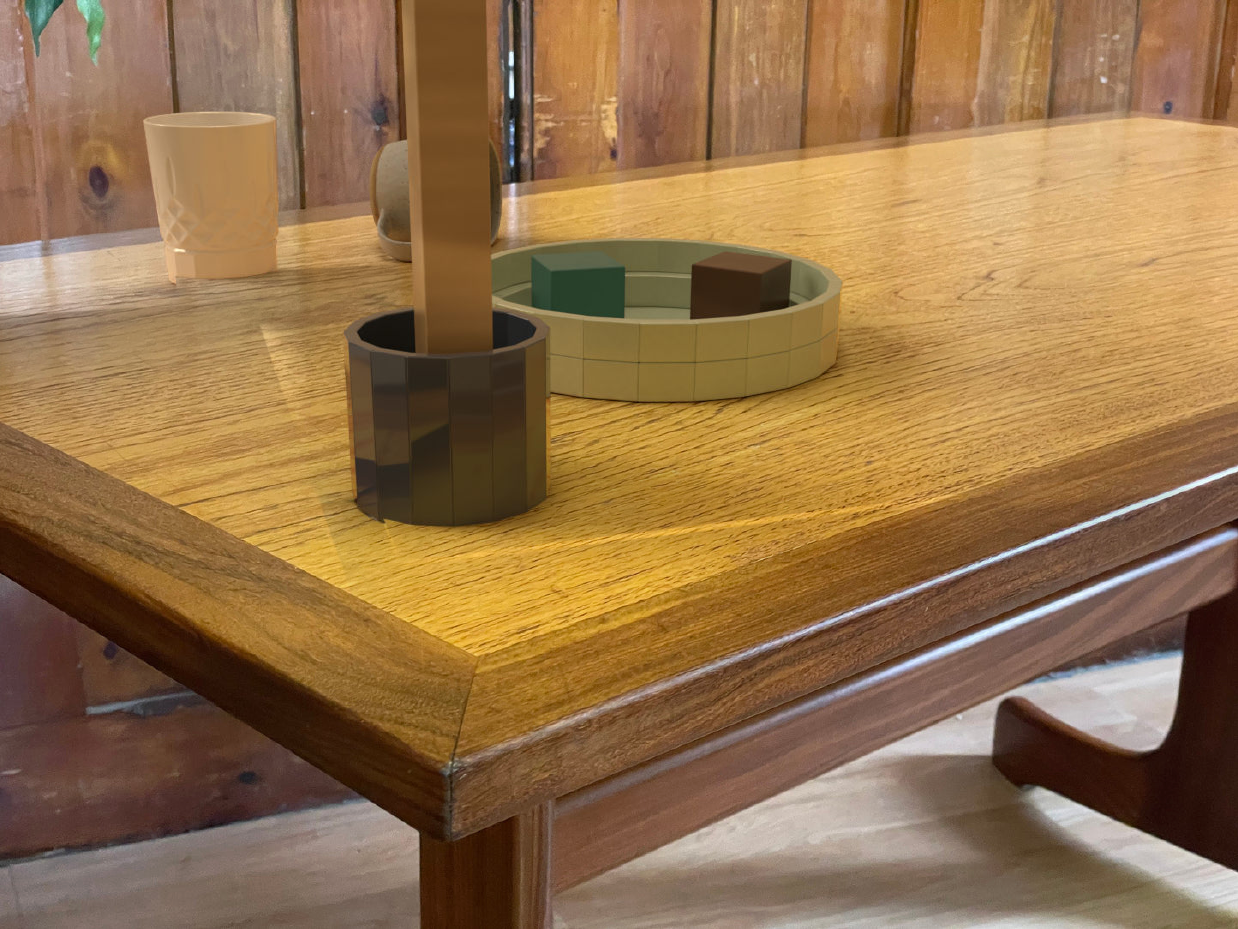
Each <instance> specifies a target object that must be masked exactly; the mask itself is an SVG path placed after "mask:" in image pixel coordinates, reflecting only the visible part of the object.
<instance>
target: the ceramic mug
mask: <svg viewBox="0 0 1238 929" xmlns="http://www.w3.org/2000/svg"><path fill="white" fill-rule="evenodd" d="M500 163H501V162H500V158H499V155H498V152H497V148H496V145H495V144H494V142H493V140H492V139H491V138H490V137H489V168H490V219H491V246H492V245H493V244H494V243H495V241H496V239H497V237H498V234H499V230H500V226H501V221H502V215H503V184H502V183H503V182H502V172H501V171H502V170H501V164H500ZM368 189H369V190H368V193H369V205H370V211H371V214H372V218H373V222H374V225H375V226H376V232H377V238H378V242H379V246H380V247H381V250H382V251H383V252H384V254H386V255H387V256H388V257H391V258H392V259H394V260H396V261H397V260H398V261H402V262H407V263H408V262H410V263H412V249H411V224H410V199H409V174H408V149H407V139H404V140H403V139H402V140H399V141H395V142H391V143H387V144H385V145H382V146H381V147H380V149H379V150H378V151H377V152H376V153H375V155H374V157H373V160H372V163H371V166H370V170H369V180H368Z"/></svg>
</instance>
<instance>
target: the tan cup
mask: <svg viewBox="0 0 1238 929" xmlns="http://www.w3.org/2000/svg"><path fill="white" fill-rule="evenodd" d="M142 125H143V131H144V137H145V143H146V151H147V158H148V165H149V171H150V177H151V179H150V180H151V185H152V191H153V197H154V202H155V208H156V212H157V213H156V214H157V220H158V225H159V232H160V236H161V238H162V241H163V242H164V246H163V247H164V253H165V261H166V267H167V275H168V280H169V281H170V282H171V283H173V284H175V285H177V278H176V277H183V278H189V279H197V280H198V279H200V280H201V279H205V280H207V279H208V280H209V279H211V280H223V279H225V280H226V279H236V278H246V277H247V278H248V277H252V276H257V275H261V274H266V273H268V272H277V271H278V253H277V252H278V251H277V249H278V248H277V243H278V240H277V237H278V235H279V220H278V219H279V182H278V181H279V178H278V176H279V175H278V142H277V141H278V140H277V139H278V138H277V136H278V135H277V134H278V133H277V117H275V116H273V115H272V114H271V115H270V114H265V113H258V112H246V111H188V112H176V113H175V112H174V113H166V114H157V115H152V116H149V117H145V118H144V119H143V120H142Z"/></svg>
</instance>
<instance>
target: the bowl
mask: <svg viewBox="0 0 1238 929" xmlns="http://www.w3.org/2000/svg"><path fill="white" fill-rule="evenodd" d="M596 251H602V252H604V253H605V254H607V255H608V256H610V257H611V258H613V259H614V260H616V261H617V262H619V263H620V264H622V265H624V266H625V318H624V319H623V318H607V317H592V316H584V315H577V314H569V313H562V312H555V311H548V310H541V309H537V308H532V292H531V256H532V255H541V254H559V253H577V252H596ZM725 251H727V252H734V253H742V254H750V255H758V256H766V257H774V258H782V259H790V260H792V265H791V282H790V299H789V308H785V309H782V310H775V311H769V312H763V313H757V314H751V315H744V316H736V317H722V318H708V319H694V320H690V302H691V272H692V264H694V263H697V262H699V261H702V260H704V259H707V258H709V257H712V256H714V255H717V254H720V253H722V252H725ZM491 271H492V307H496V308H503V309H510V310H515V311H519V312H522V313H525V314H528V315H532V316H535V317H538V318H540V319H541V320H542V321H543V322H544V323H545V324H547V325H548V326H549V327H550V385H551V393H555V394H559V395H565V396H573V397H578V398H586V399H596V400H597V399H598V400H610V401H611V400H612V401H623V402H639V403H657V402H658V403H659V402H662V403H667V402H668V403H671V402H672V403H673V402H674V403H675V402H676V403H678V402H679V403H680V402H682V403H683V402H686V403H687V402H702V401H704V402H705V401H714V400H723V399H724V400H726V399H735V398H737V399H738V398H744V397H751V396H754V395H755V396H756V395H761V394H766V393H770V392H775V391H780V390H785V389H789V388H792V387H795V386H797V385H800V384H803V383H805V382H808V381H812V380H814V379H816V378H819V377H820V376H821V375H823V374H824V373H825V372H827V371H828V370H829V369H830V368H831V367H833V366H834V365H835V364H836V361H837V357H838V352H839V341H840V329H841V328H840V327H841V315H842V314H841V313H842V312H841V311H842V301H843V300H842V298H843V284H844V282H843V280H842V278H840V276H839V275H838V274H837V273H836V272H834V270H833V269H831V268H829V267H827V266H825V265H823V264H821V263H820V262H819V263H818V262H817V261H815V260H812V259H809V258H806V257H803V256H798V255H796V254H791V253H788V252H784V251H780V250H775V249H771V248H770V249H769V248H764V247H760V246H759V247H758V246H753V245H747V244H739V243H730V242H720V241H712V240H703V239H689V238H688V239H685V238H666V237H606V238H605V237H604V238H589V239H588V238H587V239H585V238H584V239H573V240H563V241H554V242H546V243H535V244H531V245H526V246H521V247H516V248H510V249H505V250H500V251H498V252H495V253H491Z"/></svg>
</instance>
